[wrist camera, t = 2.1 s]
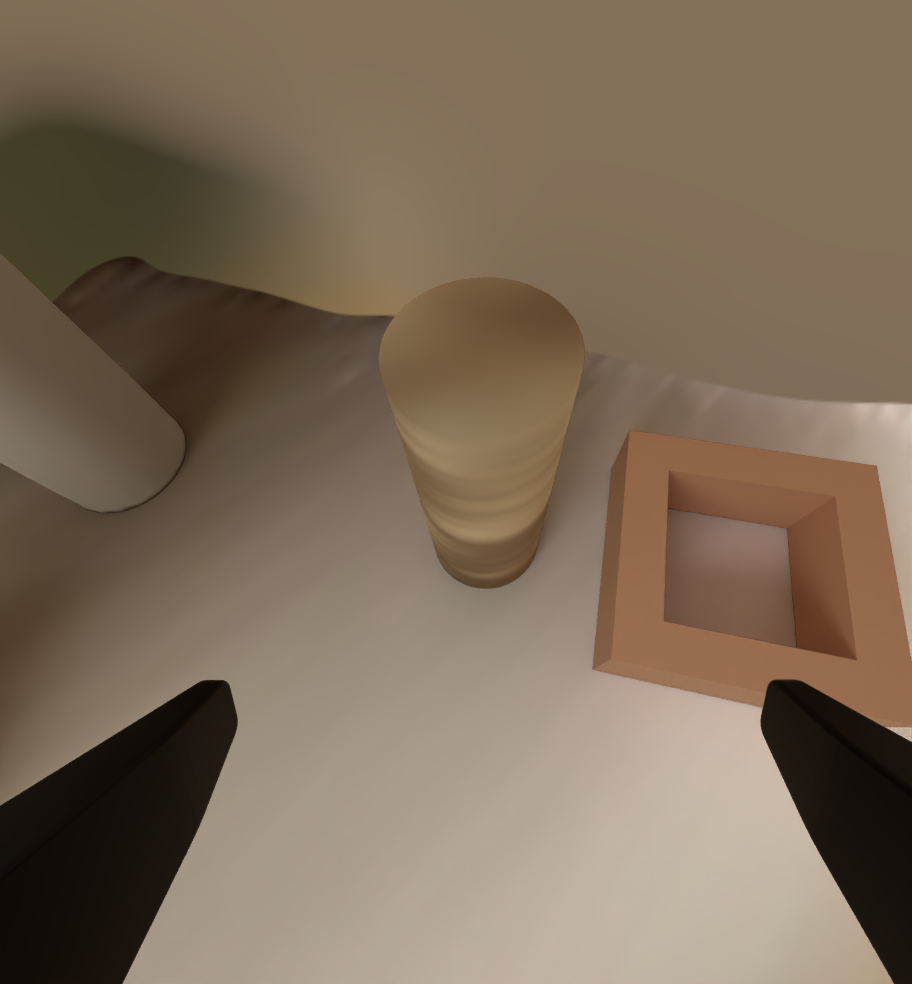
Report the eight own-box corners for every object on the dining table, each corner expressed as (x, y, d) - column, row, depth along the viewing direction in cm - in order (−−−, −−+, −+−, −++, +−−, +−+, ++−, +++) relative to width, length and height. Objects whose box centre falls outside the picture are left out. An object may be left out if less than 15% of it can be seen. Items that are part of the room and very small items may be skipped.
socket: (823, 501, 23) (876, 465, 20) (850, 727, 19) (923, 727, 16) (611, 468, 24) (629, 430, 21) (592, 669, 20) (611, 659, 17)
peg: (558, 546, 23) (629, 359, 11) (475, 610, 22) (458, 475, 10) (493, 475, 25) (496, 251, 13) (414, 529, 24) (341, 338, 12)
